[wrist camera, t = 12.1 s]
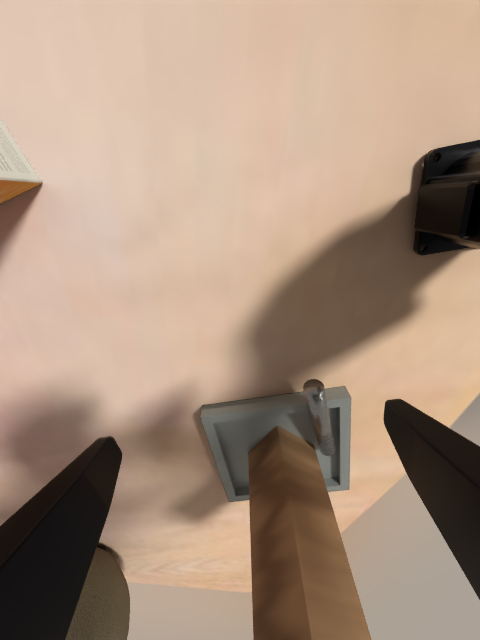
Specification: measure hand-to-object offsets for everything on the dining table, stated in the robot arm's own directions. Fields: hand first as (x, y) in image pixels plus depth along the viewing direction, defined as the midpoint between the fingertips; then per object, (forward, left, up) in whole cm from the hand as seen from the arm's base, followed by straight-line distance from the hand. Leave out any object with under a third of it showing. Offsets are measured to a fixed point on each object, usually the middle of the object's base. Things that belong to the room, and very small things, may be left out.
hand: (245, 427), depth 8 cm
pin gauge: (-6, +13, -11) cm, 18 cm away
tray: (-1, +18, -13) cm, 22 cm away
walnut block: (-1, +18, -12) cm, 22 cm away
